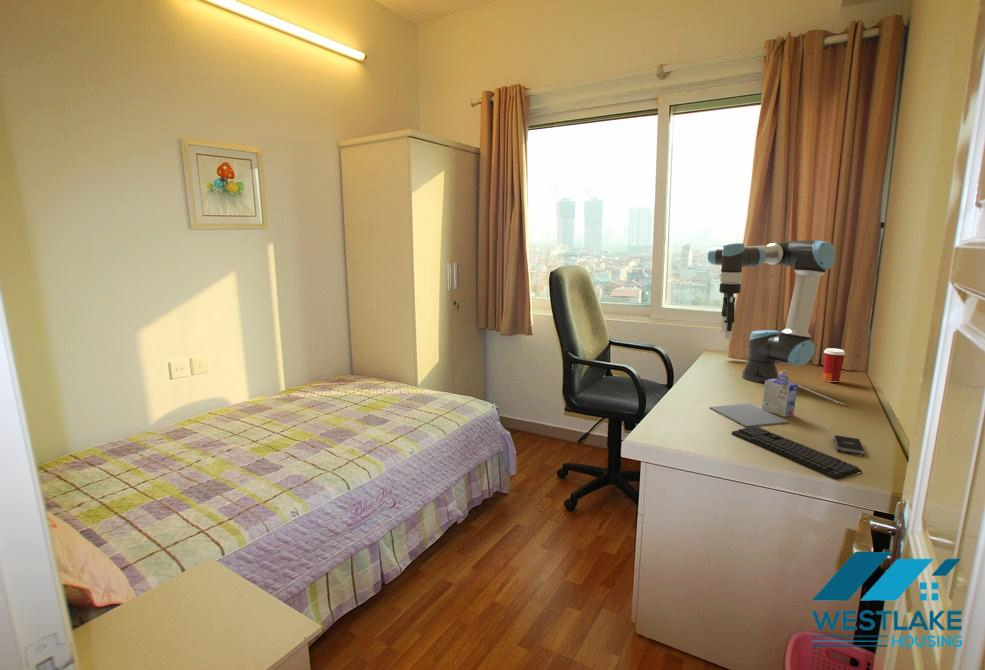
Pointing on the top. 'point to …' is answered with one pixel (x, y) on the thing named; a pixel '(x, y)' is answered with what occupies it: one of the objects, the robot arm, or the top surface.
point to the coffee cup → (833, 364)
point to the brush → (803, 387)
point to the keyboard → (797, 452)
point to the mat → (748, 415)
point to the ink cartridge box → (779, 396)
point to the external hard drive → (848, 445)
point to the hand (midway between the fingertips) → (726, 335)
